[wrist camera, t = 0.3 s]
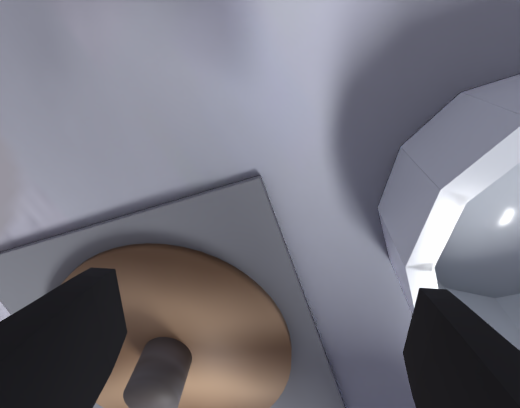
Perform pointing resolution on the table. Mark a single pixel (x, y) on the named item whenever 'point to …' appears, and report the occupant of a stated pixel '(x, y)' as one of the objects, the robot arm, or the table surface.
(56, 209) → the table surface
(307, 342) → the grey square pad
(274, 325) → the walnut lid
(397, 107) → the table surface
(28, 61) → the table surface
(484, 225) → the grey bowl
